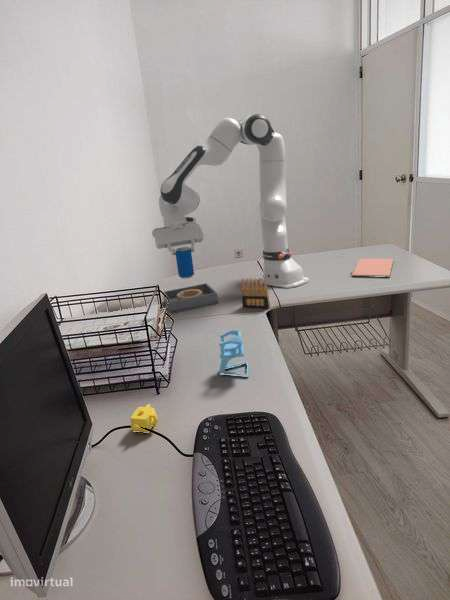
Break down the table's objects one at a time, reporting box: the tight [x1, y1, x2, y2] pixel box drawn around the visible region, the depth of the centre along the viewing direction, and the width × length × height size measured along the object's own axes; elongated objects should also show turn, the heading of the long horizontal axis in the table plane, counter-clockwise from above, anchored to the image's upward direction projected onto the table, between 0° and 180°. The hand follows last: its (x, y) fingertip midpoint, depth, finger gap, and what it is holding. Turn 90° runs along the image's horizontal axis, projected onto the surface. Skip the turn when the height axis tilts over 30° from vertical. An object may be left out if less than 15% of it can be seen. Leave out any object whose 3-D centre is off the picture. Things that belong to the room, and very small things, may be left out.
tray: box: [162, 282, 219, 314], centre depth 172 cm, size 16×20×4 cm
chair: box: [218, 330, 249, 375], centre depth 112 cm, size 8×8×12 cm
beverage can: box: [175, 246, 195, 280], centre depth 167 cm, size 6×6×12 cm
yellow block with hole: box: [129, 404, 159, 432], centre depth 93 cm, size 8×6×5 cm
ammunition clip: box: [241, 278, 271, 310], centre depth 157 cm, size 11×2×12 cm, turn 69°
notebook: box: [349, 258, 394, 277], centre depth 189 cm, size 27×17×2 cm, turn 155°
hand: (183, 252), depth 165 cm, fingers closed on beverage can, 6 cm apart
